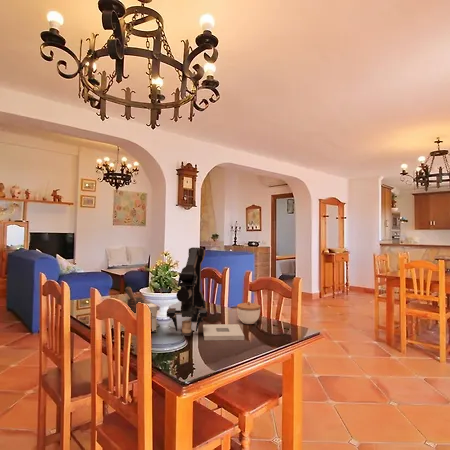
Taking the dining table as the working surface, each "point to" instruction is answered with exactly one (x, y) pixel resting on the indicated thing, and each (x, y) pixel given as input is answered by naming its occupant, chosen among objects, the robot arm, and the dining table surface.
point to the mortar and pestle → (133, 299)
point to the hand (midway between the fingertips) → (186, 330)
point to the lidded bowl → (248, 312)
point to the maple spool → (186, 328)
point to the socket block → (222, 332)
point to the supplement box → (153, 315)
